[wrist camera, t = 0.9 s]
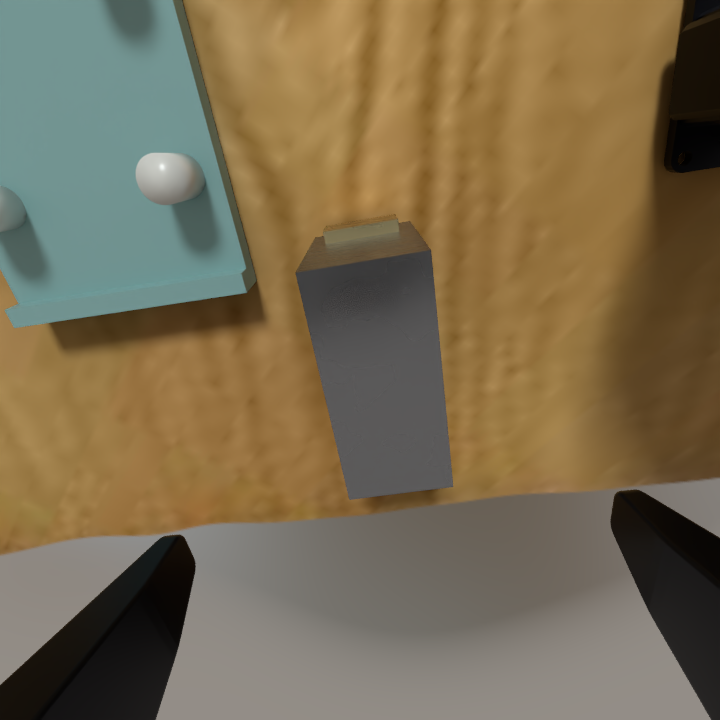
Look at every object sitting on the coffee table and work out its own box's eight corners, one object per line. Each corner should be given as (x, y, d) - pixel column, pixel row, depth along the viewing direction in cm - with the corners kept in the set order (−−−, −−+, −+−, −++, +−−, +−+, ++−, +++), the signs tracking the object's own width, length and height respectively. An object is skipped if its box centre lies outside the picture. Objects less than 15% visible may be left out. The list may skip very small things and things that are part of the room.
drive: (408, 209, 17) (430, 234, 12) (430, 403, 21) (453, 486, 16) (312, 226, 18) (291, 257, 12) (352, 414, 22) (349, 499, 16)
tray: (105, -285, 12) (28, -418, 9) (256, 280, 18) (238, 302, 16) (-220, -202, 12) (-383, -302, 10) (43, 313, 19) (-9, 339, 16)
